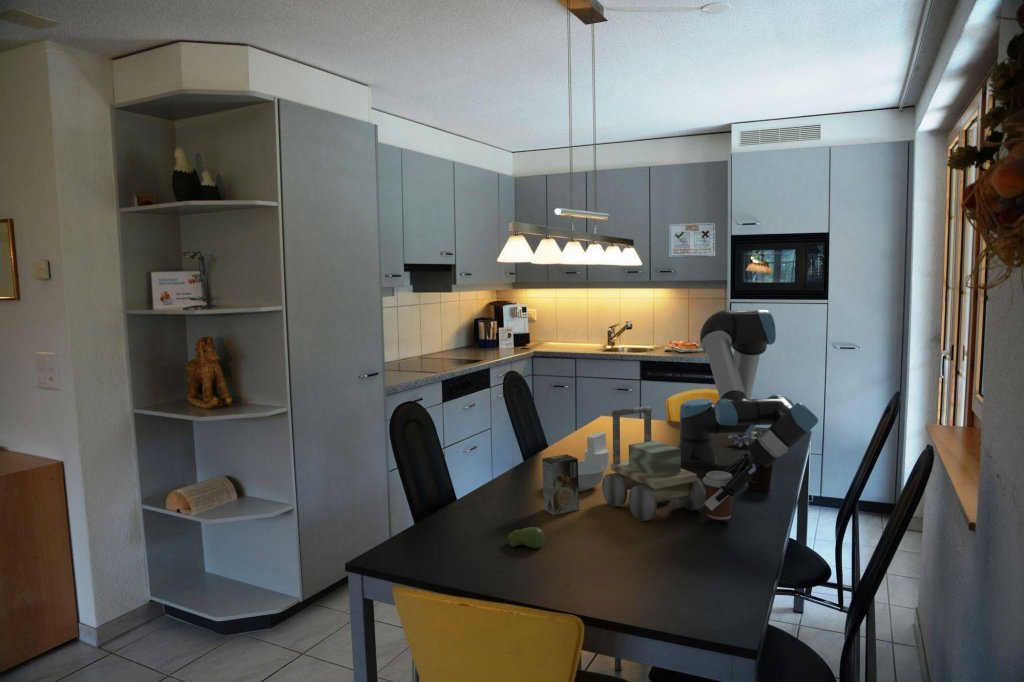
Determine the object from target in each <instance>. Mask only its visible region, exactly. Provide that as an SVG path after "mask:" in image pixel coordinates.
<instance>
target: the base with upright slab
mask: <svg viewBox="0 0 1024 682" xmlns="http://www.w3.org/2000/svg"><path fill="white" fill-rule="evenodd" d="M606 438H607V436H606V433H605V432H602V431H601V432H600V431H599V432H596V433H593V434H590V435H588V436H586V446H587V447H586V449H585V450H584V462H592V463H597V464H599V465H601V466H603V468H604V470H607V469H609V467H610V451H609V449H607V448H606V447H607V445H606V444H607V442H606V441H607V439H606Z"/></svg>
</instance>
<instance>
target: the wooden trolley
mask: <svg viewBox="0 0 1024 682" xmlns="http://www.w3.org/2000/svg"><path fill="white" fill-rule="evenodd" d="M652 411H653V408H652V406H651V405H648V406H646V405H645V406H640V407H639V406H638V407H632V408H631V407H630V408H623V409H617V410H616V409H615V410H612V412H611V416H612V461H613V462H612V463H610V471H613V472H612V473H607V474H604V475H603V479H602V481H601V489H602V490H601V491H602V495H603V498H604V500H605V502H606V503H607V504H608V505H609V506H610V507H612V508H616V507H622V506H624V505H625V504H626V502H627V499H628V503H629V504H628V505H629V509H630V511H631V513H632V515H633V516H634V519H636V520H638V521H640V522H646V521H647V522H648V521H651V520H653V519H654V518H655V516H656V514H657V509H658V507H657V505H658V503H662V502H669V501H674V500H677V499H679V502H680V504H681V505H682V506H683V508H684V509H686V510H687V511H690V512H691V511H697V510H701V509H702V508H703V507H705V506H706V505H705V504H704V503H705V502H706V495H705V494H704V493H703V492H704V491H705V485H704V484H703V482H702V481H701V479H700V478H698V477H697V473H694V472H692V471H689V470H686V469H684V468H682V467H681V466H682V465H681V449H680V448H678V447H676V446H674V445H670V444H667V443H664V442H661V441H658V440H652ZM635 414H643V425H644V426H643V431H644V433H643V434H644V435H643V439H644V440H643V442H639V443H630V444H628V460H626V461H624V460H623V461H621V420H620V419H621V418H620V417H621V416H627V415H628V416H629V415H635ZM628 491H629V492H628Z"/></svg>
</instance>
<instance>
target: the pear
mask: <svg viewBox="0 0 1024 682" xmlns="http://www.w3.org/2000/svg"><path fill="white" fill-rule="evenodd" d="M545 537H546V536H545V533H544V531H543V529H541V528H540V527H537V526H530V527H529V526H528V527H525V528H522V529H515V530H512V531H511V532H510V533H508V535H507V540H508V543H509V546H511V547H512V548H513V547H514V548H515V547H517V546H520V545H523V546H526V547H528V548H530V549H538V548H540V547H542V546H543V545H544V543H545V540H546V538H545Z"/></svg>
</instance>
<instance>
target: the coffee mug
mask: <svg viewBox="0 0 1024 682" xmlns="http://www.w3.org/2000/svg"><path fill="white" fill-rule="evenodd" d="M773 465H774V462H773V463H772V464H771V465H770V466H769V467H765V466H763V465H762V464H760V465H759V466H758V467H757V471H758V472H757V473H756V474H755V475H754V476H752V477H751V478H750V479H749V480H748V481H747V484H748V485H747V487H748V490H749V491H751V492H756V493H767V492H769V491H770V488H771V480H772V474H773V467H774V466H773Z"/></svg>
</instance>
